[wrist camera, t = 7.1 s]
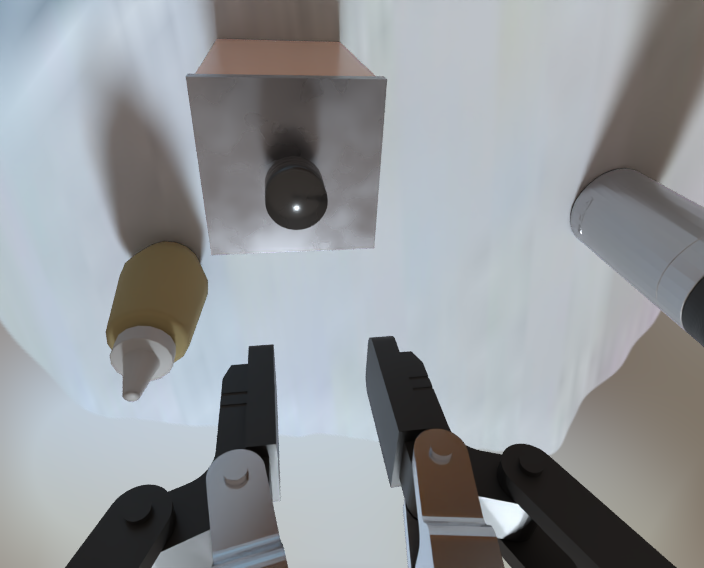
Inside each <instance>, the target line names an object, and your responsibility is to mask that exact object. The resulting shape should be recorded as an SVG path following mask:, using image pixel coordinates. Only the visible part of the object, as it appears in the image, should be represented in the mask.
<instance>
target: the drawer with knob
mask: <svg viewBox="0 0 704 568" xmlns="http://www.w3.org/2000/svg"><path fill="white" fill-rule="evenodd" d="M186 81H187V88H188V95H189V102H190V109H191V116H192V123H193V130H194V137H195V144H196V151H197V157H198V164H199V171H200V178H201V185H202V192H203V199H204V206H205V213H206V220H207V227H208V234H209V241H210V248H211V255H228V254H251V253H274V252H297V251H321V250H344V249H367V248H374V243H375V230H376V217H377V203H378V190H379V177H380V164H381V151H382V138H383V125H384V112H385V99H386V85H387V79H386V78H385V77H384V76H314V75H244V74H187V76H186Z"/></svg>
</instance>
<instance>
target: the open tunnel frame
mask: <svg viewBox="0 0 704 568" xmlns="http://www.w3.org/2000/svg"><path fill="white" fill-rule="evenodd" d="M195 74H244V75H314V76H375V75H374V74H373V73H372V72H371V71H370V70H369V69H368V68H367V67H366V66H365V65H363V64H362V63H361V62H360V61H359V60H358V59H357V58H356V57H355V56H354V55H353V54H352V53H351V52H350V51H349V50H348V49H347V48H346V47H345V46H344V45H343V44H342V43H341V42H324V41H285V40H246V39H216V41H215V43H214V44H213V46H212V47H211V49H210V51H209V52H208V54H207V55H206V57H205V59H204V60H203V62H202V63H201V65H200V67H199V68H198V70H197V71H196V73H195Z"/></svg>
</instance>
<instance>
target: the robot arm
mask: <svg viewBox="0 0 704 568" xmlns="http://www.w3.org/2000/svg"><path fill="white" fill-rule="evenodd" d="M570 225H571V228H572V231H573V233H574V235H575V236H576V237H577V238H578V239H579V240H580V241H581V242H583V243H584V244H585V245H586V246H587V247H588V248H589V249H591V250H592V251H593V252H594V253H595V254H596V255H597V256H598V257H600V258H601V259H602V260H603V261H604V262H605V263H607V264H608V265H609V266H610V267H611V268H612V269H614V270H615V271H616V272H617V273H618V274H619V275H620V276H622V277H623V278H624V279H625V280H626V281H627V282H629V283H630V284H631V285H632V286H633V287H634V288H636V289H637V290H638V291H639V292H640V293H641V294H643V295H644V296H645V297H646V298H647V299H648V300H650V301H651V302H652V303H653V304H654V305H655V306H657V307H658V308H659V309H660V310H661V311H663V312H664V313H665V314H666V315H667V316H669V317H670V318H671V319H672V320H673V321H674V322H675V323H677V324H678V325H679V326H680V327H681V328H682V329H684V330H685V331H686V332H687V333H688V334H690V335H691V336H692V337H693V338H694V339H695V340H697V341H698V342H699V343H700V344H701V345H702V346H703V347H704V207H702V206H700V205H698V204H697V203H695V202H693V201H691V200H689V199H687V198H686V197H684V196H682V195H680V194H678V193H676V192H675V191H673V190H671V189H669V188H667V187H665V186H664V185H662V184H660V183H658V182H656V181H654V180H653V179H651V178H649V177H647V176H645V175H643V174H642V173H640V172H638V171H636V170H632V169H617V170H613V171H610V172H608V173H605V174H603V175H601V176H600V177H598V178H596V179H595V180H594V181H593V182H591V183H590V184H589V185H588V186H587V187H586V188H585V189H584V190H583V191H582V192H581V194H580V195H579V197H578V198H577V200H576V202H575V204H574V206H573V209H572V212H571V217H570ZM366 388H367V394H368V398H369V402H370V406H371V410H372V414H373V418H374V422H375V426H376V430H377V434H378V438H379V442H380V446H381V450H382V454H383V458H384V462H385V466H386V470H387V474H388V479H389V483H390V486H391V488H392V487H399V486H401V487H402V490H403V494H404V498H405V500H404V505H403V515H404V526H405V538H406V550H407V560H408V561H407V562H408V568H504V564H503V560H502V557H503V558H504V559H505V561H506V562H507V563H508V564H509V565H510V566H511V567H512V568H676V567H675V566H674V565H673V564H672V563H671V562H669V561H668V560H667V559H666V558H665V557H664V556H662V555H661V554H660V553H659V552H658V551H657V550H656V549H654V548H653V547H652V546H651V545H650V544H649V543H648V542H646V541H645V540H644V539H643V538H642V537H641V536H640V535H639V534H637V533H636V532H635V531H634V530H633V529H632V528H631V527H629V526H628V525H627V524H626V523H625V522H624V521H622V520H621V519H620V518H619V517H618V516H617V515H615V513H614V512H612V511H611V510H610V509H609V508H608V507H607V506H606V505H604V504H603V503H602V502H601V501H600V500H599V499H598V498H596V497H595V496H594V495H593V494H592V493H591V492H590V491H588V490H587V489H586V488H585V487H584V486H583V485H582V484H580V483H579V482H578V481H577V480H576V479H575V478H573V477H572V476H571V475H570V474H569V473H568V472H567V471H566V470H564V469H563V468H562V467H561V466H560V465H559V464H558V463H556V462H555V461H554V460H553V459H552V458H551V457H550V456H549V455H547V454H546V453H545V452H544V451H542V450H540V449H539V448H536V447H534V446H531V445H527V444H515V445H511V446H509V447H508V448H506V449H505V451H504V452H503V454H502V455H501V454H496V453H491V452H485V451H480V450H476V449H473V448H470V447H468V446H466V445H465V444H464V442H463V441H462V440H461V439H460V438H459V437H458V436H457V435H455V434H454V433H452V432H451V430H450V428H449V426H448V424H447V421H446V419H445V416H444V414H443V411H442V409H441V406H440V404H439V402H438V399H437V397H436V394H435V392H434V389H432V384H431V382H430V379H429V378H428V375H427V372H426V370H425V367H424V365H423V362H422V361H421V360H420V359H419V358H418V357H417V356H415V355H414V354H413V353H412V352H411V351H410V352H399V349H398V346H397V343H396V341H395V338H394V337H393V336H386V337H372V338H369V341H368V352H367V364H366ZM280 500H281V498H280V470H279V442H278V413H277V389H276V373H275V358H274V345H259V346H249V353H248V364H241V365H231V367H230V368H229V370H228V371H227V373H226V374H225V376H224V378H223V381H222V392H221V402H220V413H219V423H218V435H217V444H216V453H215V457H214V460H213V462H212V464H211V466H210V467H209V468H208V470H207V471H206V472H205V473H204V474H203V475H202V476H200V477H199V478H198V479H196V480H194V481H193V482H191V483H188V484H186V485H184V486H181V487H179V488H176V489H174V490H171V491H169V492H167V491H166V490H165V489H164V488H162V487H160V486H156V485H142V486H138V487H135V488H133V489H131V490H129V491H127V492H125V493H124V494H122V495H121V496H120V497H119V498H118V499H116V501H115V502H114V503H113V504H112V505H111V507H110V508H109V509H108V511H107V512H106V513H105V515H104V516H103V517H102V519H101V520H100V521H99V523H98V524H97V525H96V527H95V528H94V530H93V531H92V532H91V534H90V535H89V536H88V538H87V539H86V540H85V542H84V543H83V544H82V546H81V547H80V548H79V550H78V551H77V552H76V554H75V555H74V556H73V558H72V559H71V560H70V562H69V563H68V564H67V566H66V567H65V568H288V565H287V561H286V556H285V551H284V547H283V544H282V543H281V540H280V536H279V531H278V527H277V522H276V517H275V512H274V507H273V502H275V501H280Z"/></svg>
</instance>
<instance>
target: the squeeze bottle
mask: <svg viewBox="0 0 704 568" xmlns="http://www.w3.org/2000/svg"><path fill="white" fill-rule="evenodd" d="M207 294H208V280H207V278H206V276H205V273H204V271H203V269H202V267H201V265H200V263H199V261H198V258H197V256H196V254H194V253H193V252H192V251H191V250H190V249H189V248H188V247H186V246H184V245H181V244H179V243H176V242H165V241H163V242H159V243H156V244H152V245H151V246H149V247H147V248H146V249H144V250H142V251H140V252H139V253H137V254H136V255H135V256H133V257H132V258H131V259H130V260H128V261H127V262H126V263H125V265H124V267H123V270H122V272H121V274H120V277H119V281H118V285H117V289H116V293H115V297H114V301H113V305H112V309H111V313H110V317H109V321H108V325H107V329H106V337H107V344H108V345H109V347H110V348H111V349H112V351H111V353H110V360H111V365H112V366H113V367H114V369H115V370H116V371H117V372H118V373H119V374H121V375H122V376H123V398H124V399H125V400H127V401H130V402H134V401H137V400H138V399H139V398H140V397H141V395H142V393H143V392H144V390H145V388H146V387H147V385H148V384H149V382H150V381H153V380H157V379H160V378H162V377H163V376H165V375H166V374H168V373H169V372H170V370H171V368H172V366H173V364H174V362H176V361H177V360H179V359H180V358H181V357H183V356H184V354H185V352H186V351H187V349H188V347H189V345H190V342H191V339H192V336H193V334H194V331H195V328H196V325H197V322H198V320H199V317H200V314H201V311H202V308H203V306H204V303H205V300H206V297H207Z"/></svg>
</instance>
